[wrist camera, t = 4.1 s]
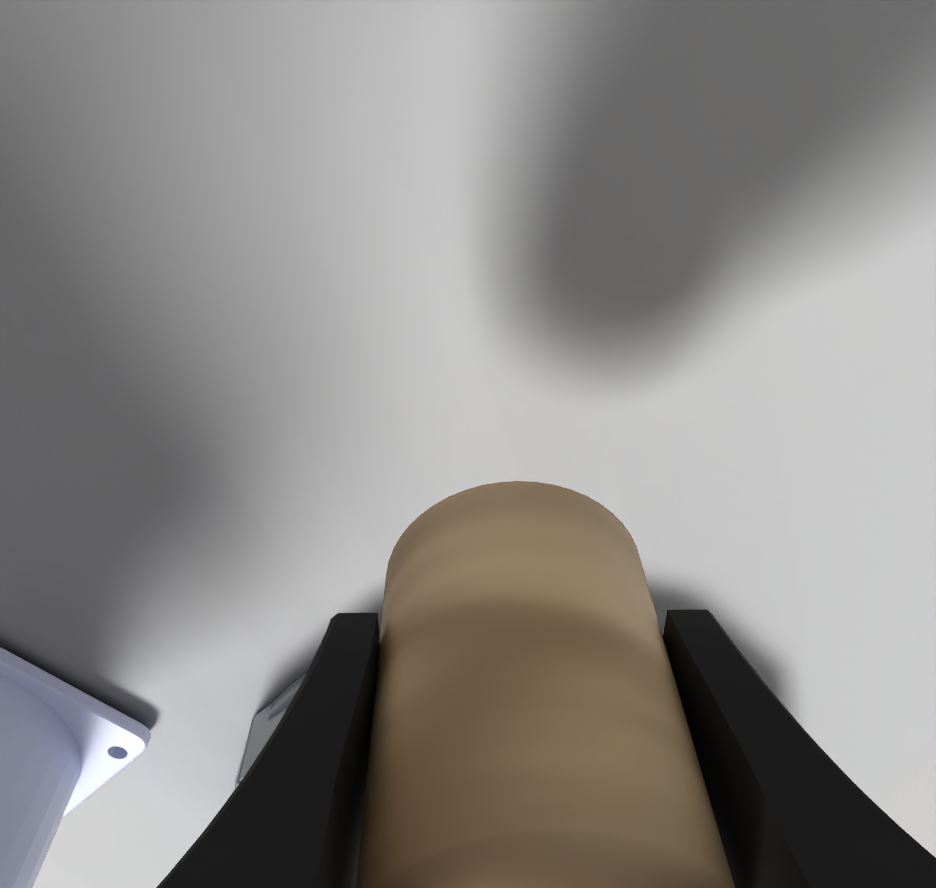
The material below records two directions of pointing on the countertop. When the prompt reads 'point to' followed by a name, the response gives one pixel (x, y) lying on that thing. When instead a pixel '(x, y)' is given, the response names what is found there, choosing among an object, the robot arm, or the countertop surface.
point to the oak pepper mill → (529, 708)
